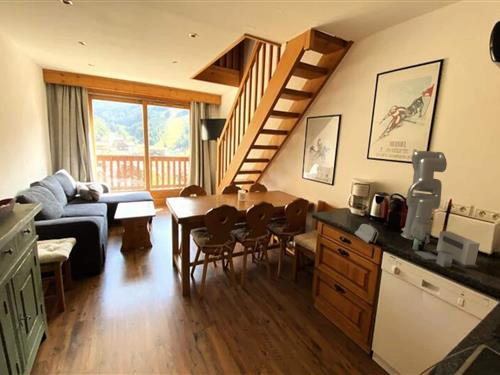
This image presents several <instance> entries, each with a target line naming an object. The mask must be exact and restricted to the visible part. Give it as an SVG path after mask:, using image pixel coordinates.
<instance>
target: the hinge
mask: <svg viewBox="0 0 500 375" xmlns="http://www.w3.org/2000/svg"><path fill="white" fill-rule="evenodd" d="M354 235H356V236H357V237H358V238H360V239H361V240H363V241H364V242H366V243H367V244H369V243H370V242H371V243H373V244H375V243H376V241H377V240H378V236H379V231H378V230H377V228H375V227H373V226H372V225H370V224H366V223H362V224H360V226H359V228H358V229H357V230H356V231H355V232H354Z"/></svg>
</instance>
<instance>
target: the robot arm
mask: <svg viewBox="0 0 500 375" xmlns="http://www.w3.org/2000/svg"><path fill="white" fill-rule="evenodd" d="M411 165H412V169H413V176H412V178H413V179H412V184H411V185H410V187H409V188H408V189H407V195H406V206H407V208H408V209H407V213H406V214H407V215H406V220H405V225H404V227H403V228H401V231H403V232H402V233H400V236H401V237H403V238H404V239H407V240H410V241H411V247H412V248H413V244H414V238H417V239H419V240H420V244H419V245H418V250H419V251H422V252H424V249H425V246H426V244H428V243H430V234H431V219H432V215H433V210H436V209H439V207H440V206H441V200H442V199H441V198H442V188H443V187H442V185H443V184H442V181H441V180H440V179H437V178H434V177H435V176H434V173H435V172H436V173H443V172H445V171H446V169H447V168H448V167H447V165H448V162H447V158H446V156H445V153H444V152H441V151H429V150H418V151H417V150H416V151H415V152H413V153H412V154H411ZM414 191H416V192H414ZM422 240H423V242H422Z"/></svg>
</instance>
